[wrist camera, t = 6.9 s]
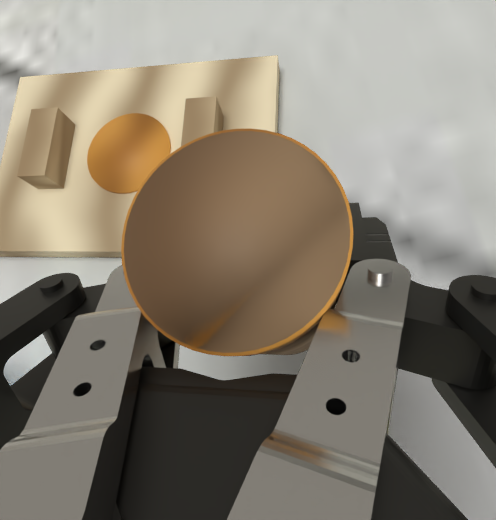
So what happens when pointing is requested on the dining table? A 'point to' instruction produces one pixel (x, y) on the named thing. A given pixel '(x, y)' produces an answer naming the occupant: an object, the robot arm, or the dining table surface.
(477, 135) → the dining table surface
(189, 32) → the dining table surface
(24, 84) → the plate
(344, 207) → the pin
